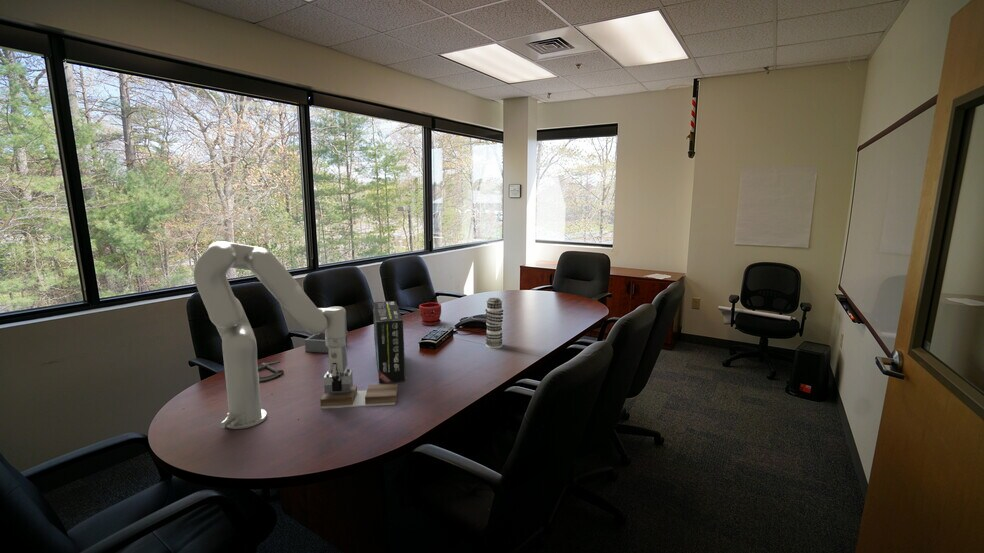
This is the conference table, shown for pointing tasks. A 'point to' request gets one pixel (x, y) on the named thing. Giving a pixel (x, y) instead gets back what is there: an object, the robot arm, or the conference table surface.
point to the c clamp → (277, 372)
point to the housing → (345, 381)
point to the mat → (358, 401)
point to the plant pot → (430, 313)
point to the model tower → (494, 323)
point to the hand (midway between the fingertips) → (338, 386)
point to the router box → (389, 342)
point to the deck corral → (316, 343)
